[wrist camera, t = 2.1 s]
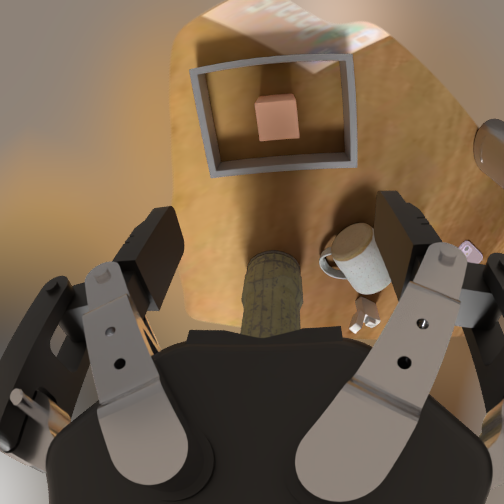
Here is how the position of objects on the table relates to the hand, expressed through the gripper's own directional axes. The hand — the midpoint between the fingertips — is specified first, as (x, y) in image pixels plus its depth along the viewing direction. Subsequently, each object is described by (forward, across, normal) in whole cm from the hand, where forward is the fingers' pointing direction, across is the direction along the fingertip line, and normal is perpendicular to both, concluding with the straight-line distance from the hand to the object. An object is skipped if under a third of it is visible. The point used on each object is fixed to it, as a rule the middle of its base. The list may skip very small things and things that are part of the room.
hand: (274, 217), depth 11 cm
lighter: (+26, -12, +33) cm, 44 cm away
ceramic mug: (+26, -10, +21) cm, 35 cm away
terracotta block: (+26, 0, 0) cm, 26 cm away
